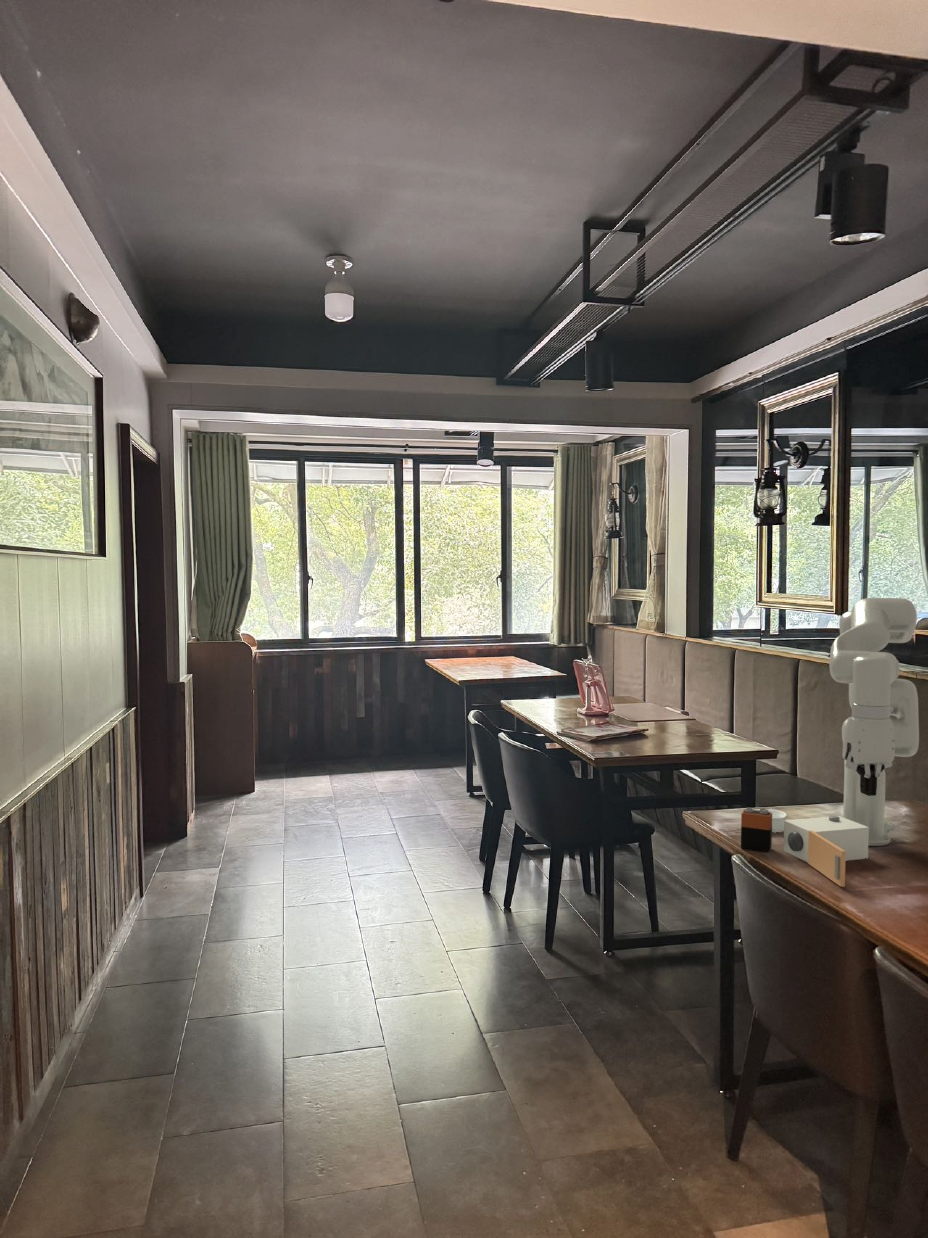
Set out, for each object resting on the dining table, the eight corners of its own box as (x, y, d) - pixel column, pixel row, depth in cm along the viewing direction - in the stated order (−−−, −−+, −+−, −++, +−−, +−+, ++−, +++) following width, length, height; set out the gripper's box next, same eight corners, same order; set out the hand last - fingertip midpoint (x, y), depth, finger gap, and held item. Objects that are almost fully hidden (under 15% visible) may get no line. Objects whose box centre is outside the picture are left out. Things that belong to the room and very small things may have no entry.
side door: (805, 863, 194) (806, 830, 194) (811, 863, 194) (812, 830, 194) (838, 886, 179) (839, 851, 179) (844, 886, 179) (845, 851, 179)
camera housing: (838, 845, 208) (839, 812, 208) (867, 858, 199) (868, 824, 198) (780, 851, 204) (780, 817, 203) (807, 864, 194) (808, 829, 194)
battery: (769, 853, 202) (770, 812, 201) (740, 849, 205) (741, 809, 204) (771, 848, 206) (772, 808, 205) (742, 844, 209) (743, 805, 208)
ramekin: (783, 836, 216) (784, 819, 216) (748, 830, 221) (748, 814, 221) (788, 827, 224) (789, 811, 224) (754, 822, 228) (754, 806, 228)
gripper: (889, 707, 188) (886, 787, 189) (829, 710, 185) (827, 791, 186) (912, 713, 180) (910, 797, 182) (851, 716, 178) (848, 801, 179)
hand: (868, 794), depth 184 cm, fingers closed
